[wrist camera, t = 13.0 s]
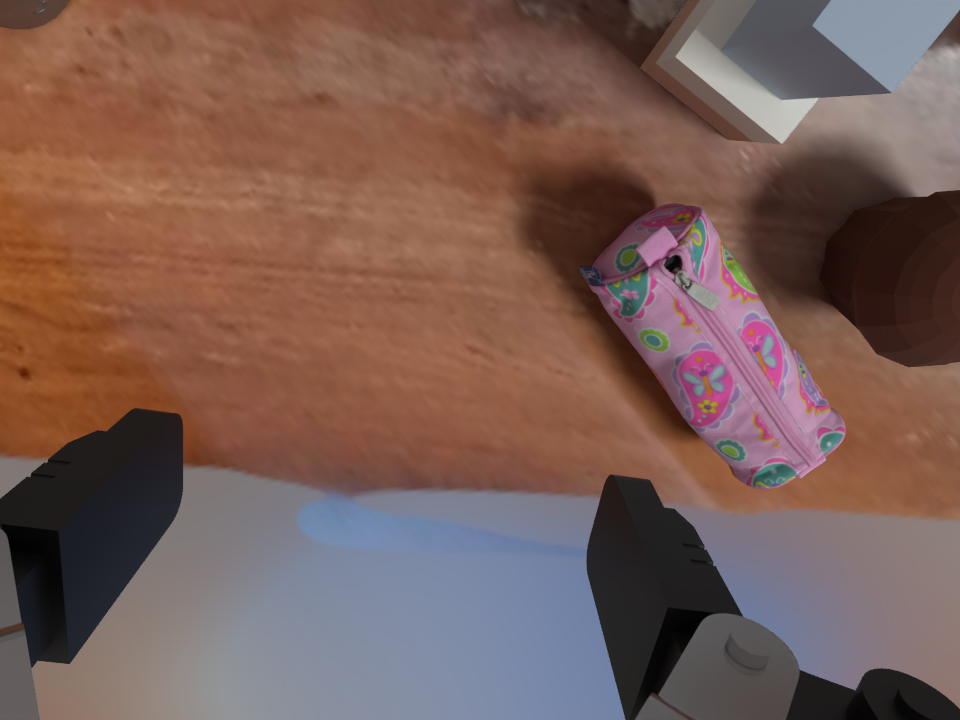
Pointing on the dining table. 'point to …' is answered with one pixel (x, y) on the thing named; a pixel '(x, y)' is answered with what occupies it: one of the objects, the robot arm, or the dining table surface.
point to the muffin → (901, 277)
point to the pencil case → (715, 346)
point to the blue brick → (836, 44)
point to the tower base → (719, 75)
